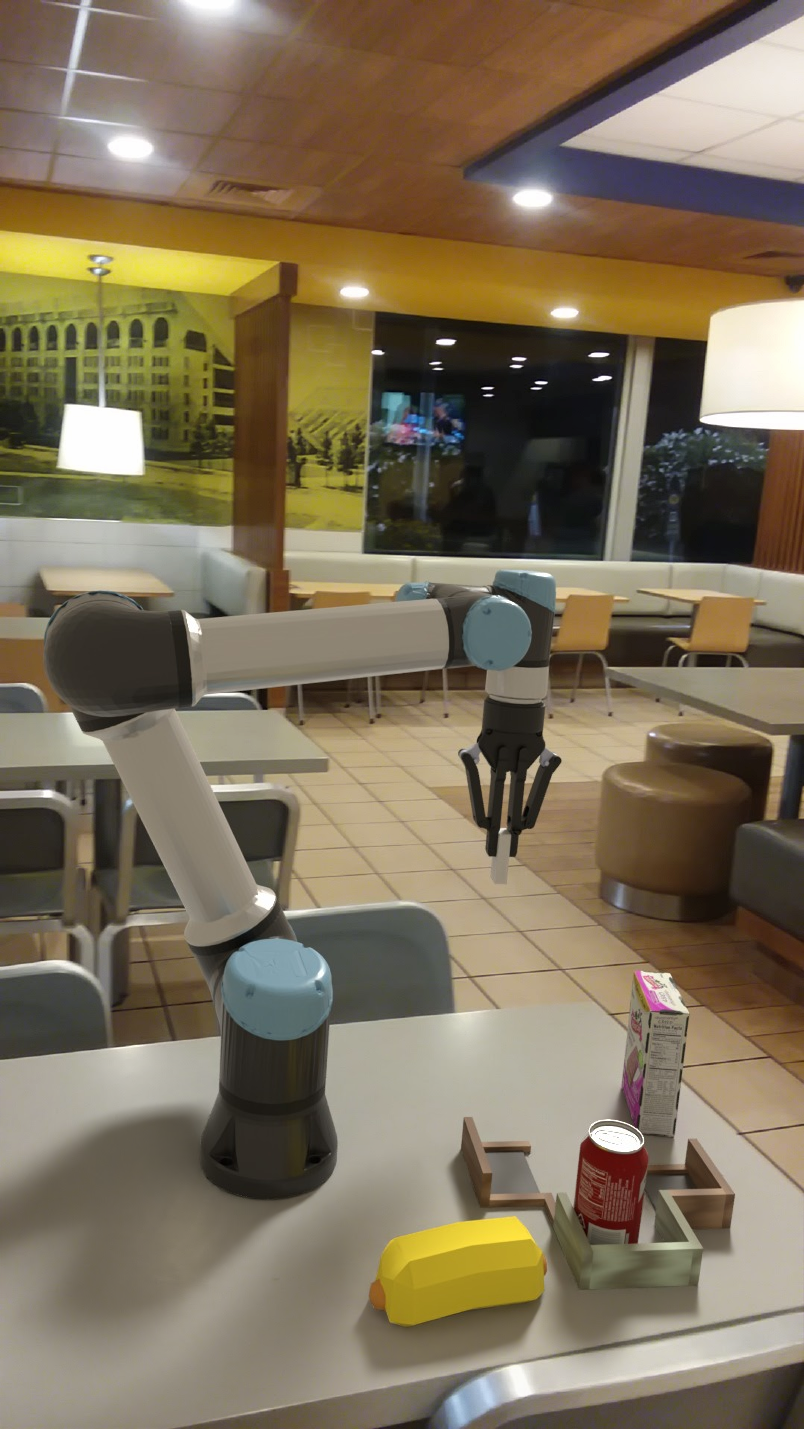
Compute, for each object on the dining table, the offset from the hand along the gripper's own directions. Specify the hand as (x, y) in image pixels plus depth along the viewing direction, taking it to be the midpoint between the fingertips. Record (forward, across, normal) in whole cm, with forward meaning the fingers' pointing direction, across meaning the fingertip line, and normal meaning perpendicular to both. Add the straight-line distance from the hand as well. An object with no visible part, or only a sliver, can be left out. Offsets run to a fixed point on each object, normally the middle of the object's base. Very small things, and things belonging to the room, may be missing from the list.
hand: (498, 880), depth 136 cm
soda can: (+27, -6, +33) cm, 43 cm away
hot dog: (+27, +11, +40) cm, 49 cm away
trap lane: (+26, -7, +29) cm, 39 cm away
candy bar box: (+27, -19, +10) cm, 34 cm away
